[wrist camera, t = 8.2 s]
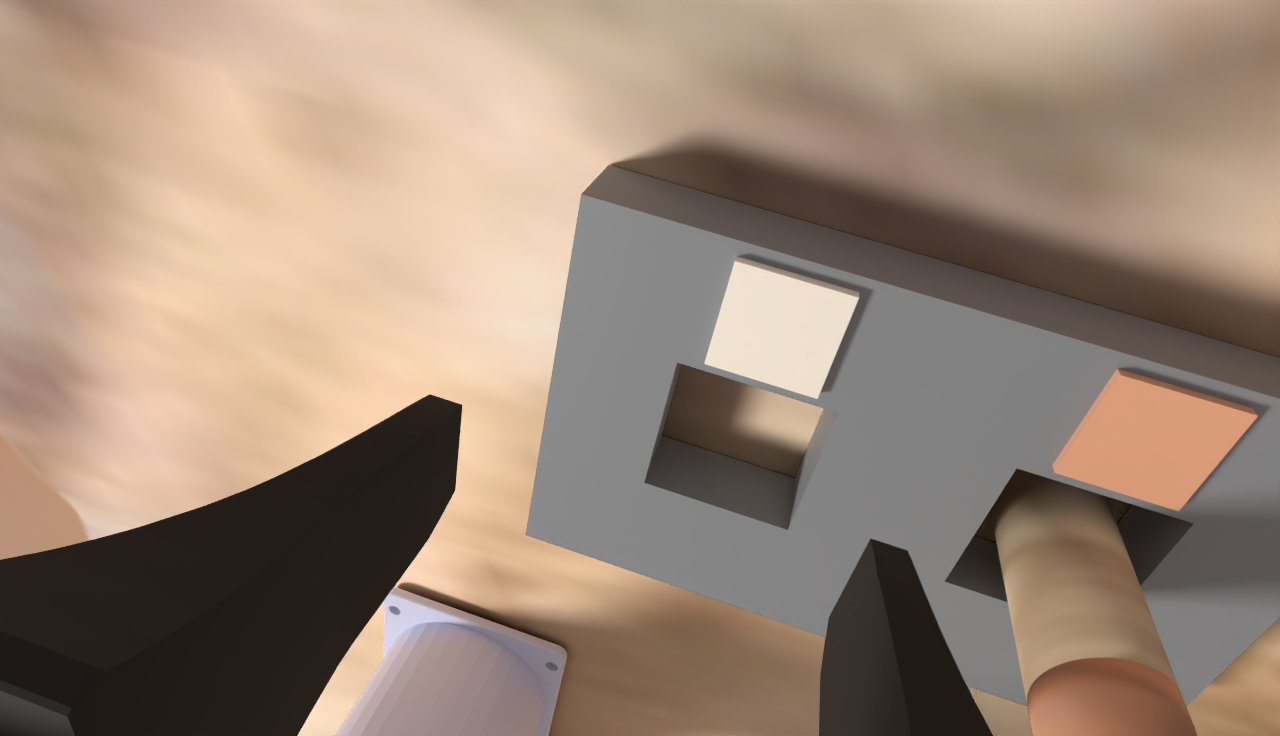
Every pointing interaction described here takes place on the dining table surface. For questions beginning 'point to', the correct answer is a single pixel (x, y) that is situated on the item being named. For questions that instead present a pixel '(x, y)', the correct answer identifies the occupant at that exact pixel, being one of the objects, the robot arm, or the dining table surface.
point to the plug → (1081, 617)
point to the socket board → (895, 427)
